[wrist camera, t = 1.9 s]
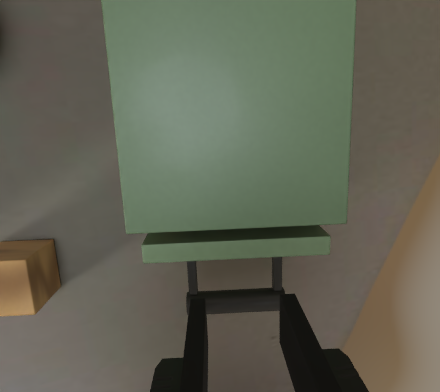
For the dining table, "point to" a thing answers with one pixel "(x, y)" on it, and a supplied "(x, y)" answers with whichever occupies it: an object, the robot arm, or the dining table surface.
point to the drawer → (236, 249)
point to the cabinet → (231, 111)
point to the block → (27, 276)
